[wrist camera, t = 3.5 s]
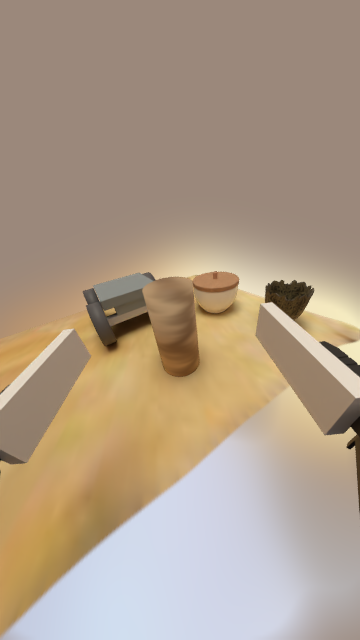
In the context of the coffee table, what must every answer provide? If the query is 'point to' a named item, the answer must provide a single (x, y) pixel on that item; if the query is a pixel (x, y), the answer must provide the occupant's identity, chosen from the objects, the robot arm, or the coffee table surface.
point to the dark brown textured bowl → (289, 297)
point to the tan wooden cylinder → (174, 323)
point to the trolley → (116, 303)
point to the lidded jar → (215, 290)
